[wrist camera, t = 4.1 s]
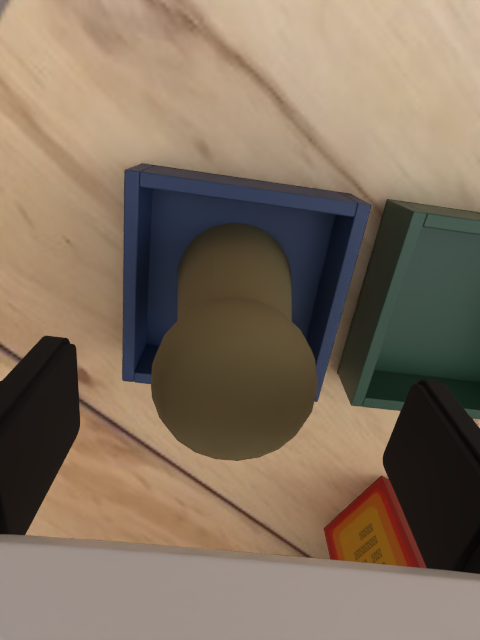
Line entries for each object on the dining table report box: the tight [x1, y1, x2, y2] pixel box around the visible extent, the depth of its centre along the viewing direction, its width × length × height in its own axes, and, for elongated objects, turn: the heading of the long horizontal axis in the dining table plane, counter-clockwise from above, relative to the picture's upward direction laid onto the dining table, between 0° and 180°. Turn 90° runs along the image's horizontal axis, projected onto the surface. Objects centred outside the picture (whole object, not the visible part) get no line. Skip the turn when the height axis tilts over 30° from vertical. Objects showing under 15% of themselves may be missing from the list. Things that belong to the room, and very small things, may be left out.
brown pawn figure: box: [151, 223, 318, 461], centre depth 16 cm, size 6×6×11 cm
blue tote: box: [122, 164, 371, 402], centre depth 20 cm, size 10×10×3 cm
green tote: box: [337, 199, 480, 419], centre depth 20 cm, size 10×10×3 cm
